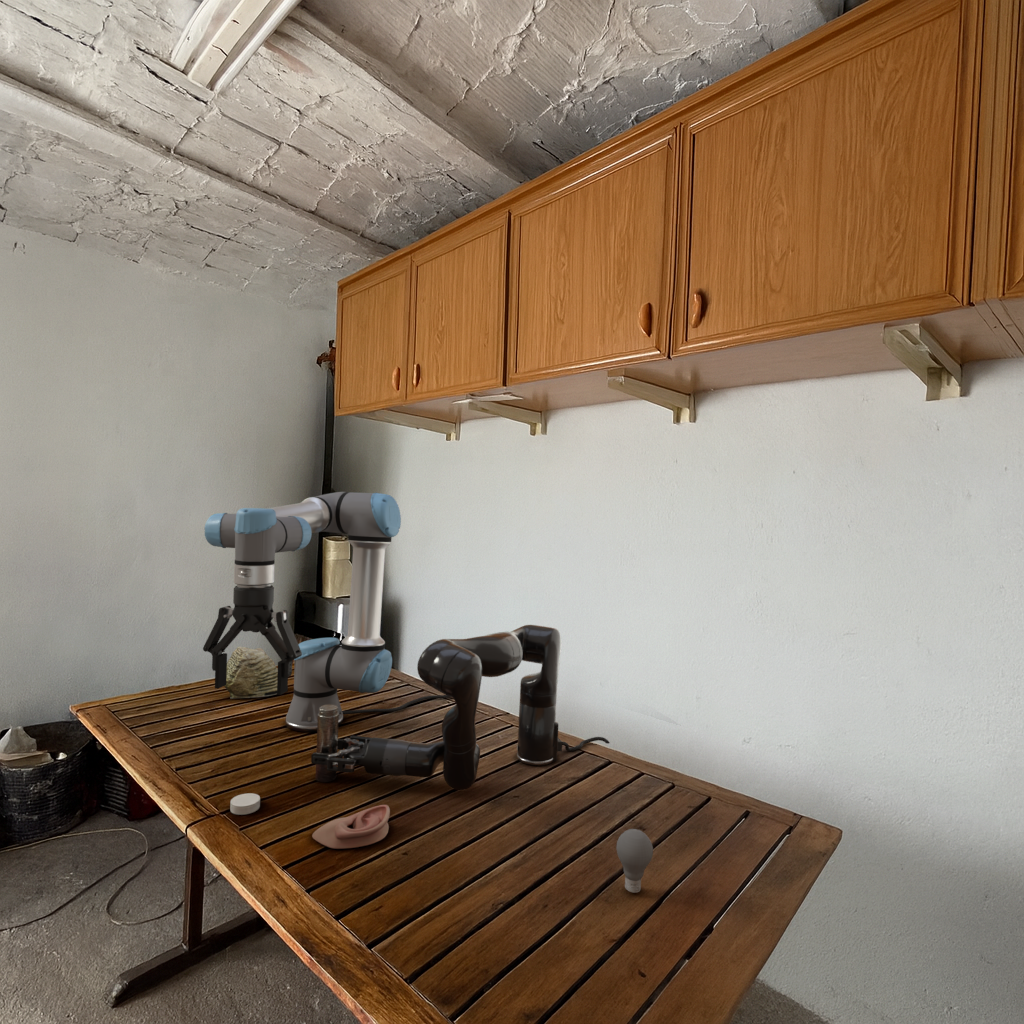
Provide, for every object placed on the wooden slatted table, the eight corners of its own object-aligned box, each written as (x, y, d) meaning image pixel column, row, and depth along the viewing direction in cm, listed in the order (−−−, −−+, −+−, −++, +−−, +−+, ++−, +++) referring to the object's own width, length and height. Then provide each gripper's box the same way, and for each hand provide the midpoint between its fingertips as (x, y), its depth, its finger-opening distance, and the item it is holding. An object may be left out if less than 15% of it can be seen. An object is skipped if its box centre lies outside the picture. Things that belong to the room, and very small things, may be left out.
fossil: (218, 695, 195) (220, 647, 195) (278, 685, 208) (279, 640, 207) (228, 703, 189) (230, 653, 188) (289, 692, 201) (290, 645, 201)
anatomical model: (304, 822, 115) (334, 794, 126) (303, 844, 115) (333, 813, 126) (372, 833, 112) (397, 803, 124) (371, 855, 113) (396, 823, 124)
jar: (311, 778, 142) (314, 707, 142) (328, 771, 146) (331, 702, 146) (323, 784, 140) (325, 712, 139) (340, 778, 143) (343, 707, 143)
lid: (242, 817, 124) (242, 808, 124) (224, 809, 127) (224, 801, 127) (265, 806, 129) (266, 798, 129) (247, 799, 131) (248, 790, 131)
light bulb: (610, 879, 108) (613, 822, 108) (644, 879, 109) (647, 822, 109) (619, 902, 102) (622, 840, 102) (655, 901, 103) (658, 840, 103)
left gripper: (185, 583, 125) (183, 689, 126) (302, 591, 121) (299, 701, 122) (209, 578, 133) (207, 678, 134) (320, 586, 129) (317, 689, 129)
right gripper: (399, 728, 148) (333, 723, 150) (380, 752, 134) (306, 745, 136) (398, 760, 148) (332, 754, 150) (378, 787, 134) (305, 780, 136)
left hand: (251, 689), depth 128 cm, fingers open, 13 cm apart
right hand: (320, 750), depth 143 cm, fingers open, 8 cm apart
